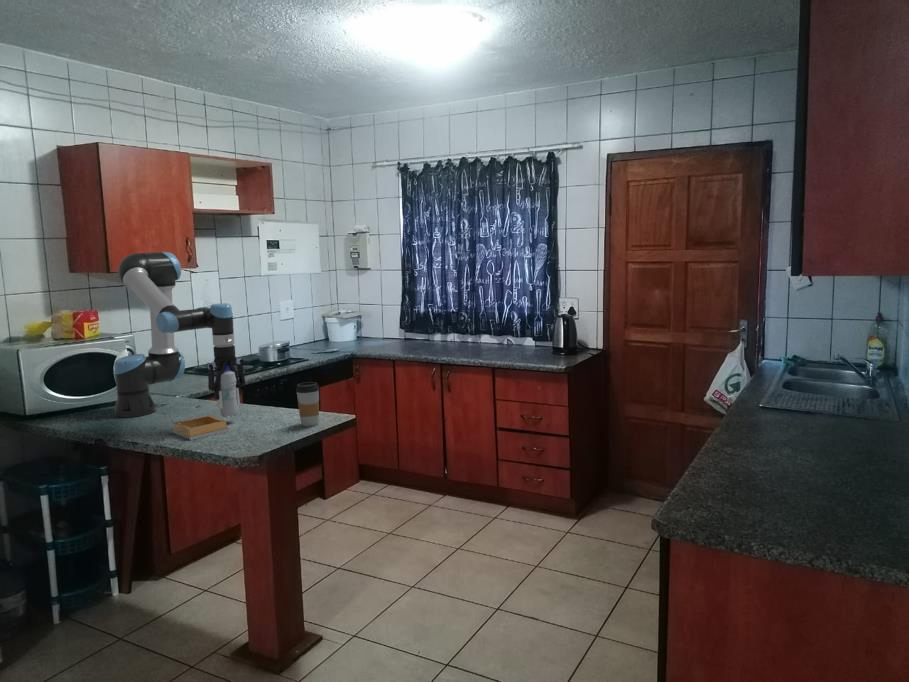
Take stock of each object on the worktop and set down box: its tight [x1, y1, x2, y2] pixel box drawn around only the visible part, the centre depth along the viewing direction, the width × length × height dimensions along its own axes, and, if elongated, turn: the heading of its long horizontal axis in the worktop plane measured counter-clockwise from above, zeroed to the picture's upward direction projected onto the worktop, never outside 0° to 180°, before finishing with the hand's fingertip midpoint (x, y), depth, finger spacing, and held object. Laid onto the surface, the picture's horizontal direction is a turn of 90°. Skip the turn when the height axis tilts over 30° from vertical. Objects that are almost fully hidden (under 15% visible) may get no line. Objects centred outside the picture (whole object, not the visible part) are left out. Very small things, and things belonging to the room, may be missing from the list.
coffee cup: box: [295, 381, 320, 427], centre depth 241 cm, size 8×8×15 cm
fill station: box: [172, 415, 230, 441], centre depth 237 cm, size 15×14×4 cm
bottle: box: [219, 365, 239, 418], centre depth 247 cm, size 7×7×20 cm
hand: (228, 405), depth 248 cm, fingers closed on bottle, 6 cm apart
